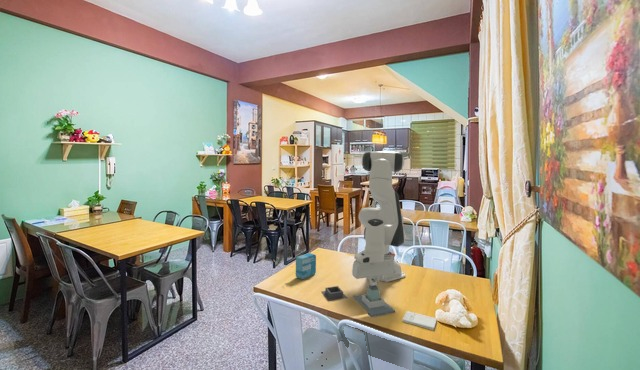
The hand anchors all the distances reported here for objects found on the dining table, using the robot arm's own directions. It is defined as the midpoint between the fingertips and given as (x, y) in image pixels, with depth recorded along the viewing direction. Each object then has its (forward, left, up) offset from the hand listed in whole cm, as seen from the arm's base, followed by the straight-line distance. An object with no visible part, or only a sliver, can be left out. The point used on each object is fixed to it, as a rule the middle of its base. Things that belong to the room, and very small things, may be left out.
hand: (373, 285), depth 133 cm
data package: (+20, -41, -10) cm, 47 cm away
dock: (0, 0, -10) cm, 10 cm away
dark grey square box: (+14, -13, -10) cm, 21 cm away
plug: (0, 0, -9) cm, 9 cm away
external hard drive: (-12, +17, -10) cm, 24 cm away
